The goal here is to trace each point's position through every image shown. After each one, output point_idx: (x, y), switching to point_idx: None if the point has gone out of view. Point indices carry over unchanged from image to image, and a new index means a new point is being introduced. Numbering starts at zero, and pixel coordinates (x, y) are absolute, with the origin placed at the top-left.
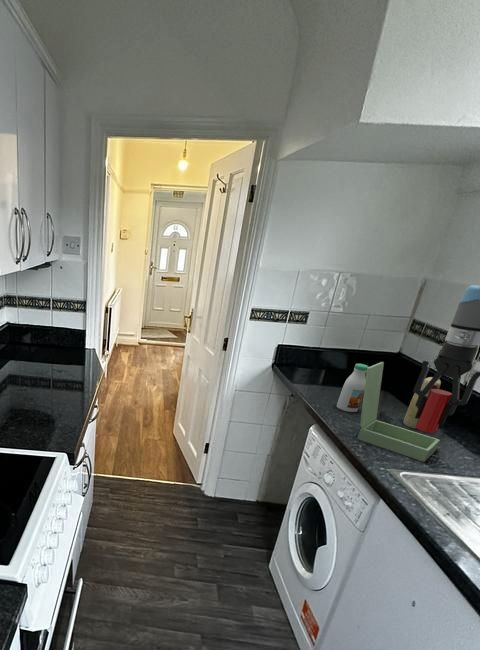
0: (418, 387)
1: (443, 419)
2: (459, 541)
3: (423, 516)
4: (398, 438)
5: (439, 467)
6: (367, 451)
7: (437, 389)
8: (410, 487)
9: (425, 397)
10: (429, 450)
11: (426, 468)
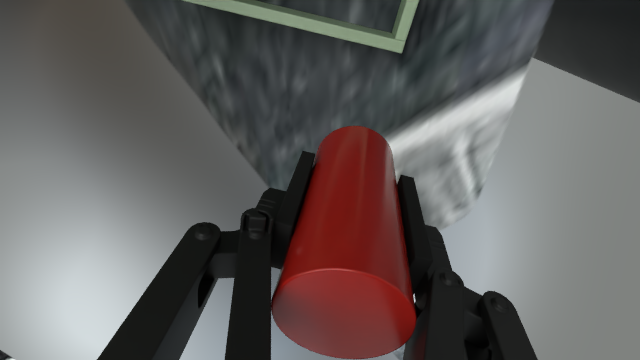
0: (199, 303)
1: None
2: None
3: None
4: None
5: (440, 59)
6: (246, 95)
7: (315, 276)
8: None
9: (278, 249)
10: (405, 40)
11: (399, 99)
